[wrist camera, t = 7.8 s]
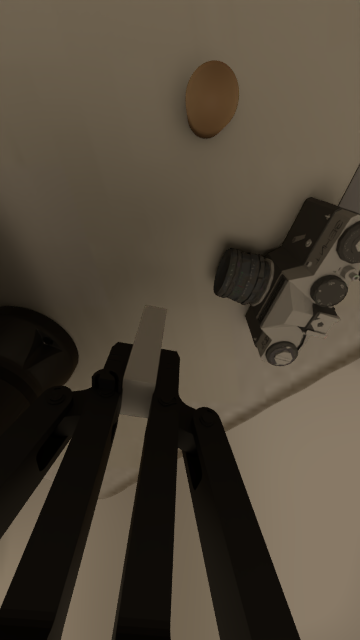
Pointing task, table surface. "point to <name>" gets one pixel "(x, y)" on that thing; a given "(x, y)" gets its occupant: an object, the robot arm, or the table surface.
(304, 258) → the camera
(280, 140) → the table surface
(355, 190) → the strip
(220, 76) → the brown rounded cylinder
